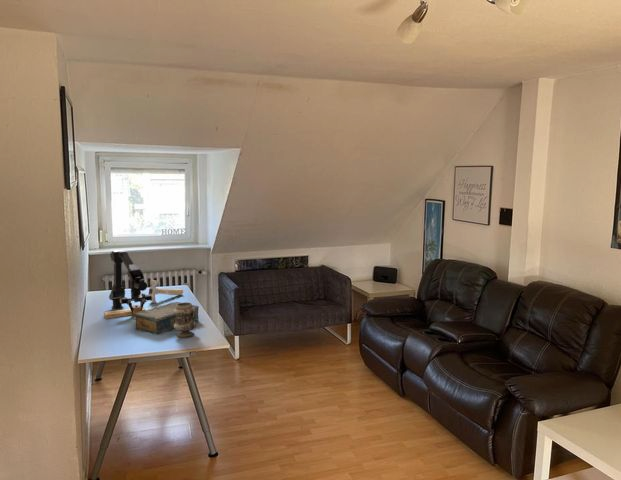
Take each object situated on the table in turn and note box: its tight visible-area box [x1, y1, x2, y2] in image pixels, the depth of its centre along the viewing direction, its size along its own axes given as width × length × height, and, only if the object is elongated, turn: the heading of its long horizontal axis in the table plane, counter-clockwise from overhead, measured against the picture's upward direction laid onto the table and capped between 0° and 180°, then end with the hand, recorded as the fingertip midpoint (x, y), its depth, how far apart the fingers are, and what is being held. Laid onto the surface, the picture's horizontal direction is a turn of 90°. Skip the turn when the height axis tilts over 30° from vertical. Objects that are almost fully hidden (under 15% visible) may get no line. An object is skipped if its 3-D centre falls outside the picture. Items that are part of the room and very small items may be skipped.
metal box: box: [134, 301, 200, 335], centre depth 291 cm, size 21×32×10 cm, turn 147°
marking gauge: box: [132, 304, 142, 317], centre depth 314 cm, size 10×5×6 cm, turn 31°
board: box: [103, 307, 146, 319], centre depth 315 cm, size 7×24×3 cm, turn 122°
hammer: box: [147, 279, 184, 304], centre depth 355 cm, size 16×5×30 cm
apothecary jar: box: [173, 301, 197, 339], centre depth 272 cm, size 12×12×18 cm
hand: (136, 312), depth 312 cm, fingers closed on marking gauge, 5 cm apart
